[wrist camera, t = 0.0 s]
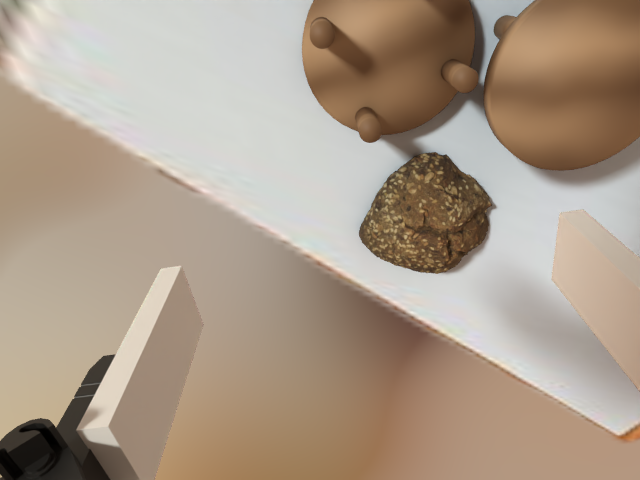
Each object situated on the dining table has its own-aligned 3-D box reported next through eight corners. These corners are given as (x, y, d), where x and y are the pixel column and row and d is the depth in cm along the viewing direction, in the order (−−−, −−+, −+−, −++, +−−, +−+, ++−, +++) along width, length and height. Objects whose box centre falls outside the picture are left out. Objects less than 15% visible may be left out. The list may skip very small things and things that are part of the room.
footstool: (468, -7, 36) (494, -5, 31) (649, -39, 35) (706, -41, 30) (467, 157, 43) (488, 182, 38) (617, 134, 42) (660, 156, 37)
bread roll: (342, 230, 48) (345, 255, 43) (418, 134, 42) (429, 152, 38) (434, 284, 51) (445, 312, 47) (514, 202, 46) (535, 225, 42)
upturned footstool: (271, 11, 37) (264, 17, 32) (431, -91, 33) (452, -103, 28) (349, 155, 43) (353, 179, 38) (490, 81, 40) (516, 96, 35)
